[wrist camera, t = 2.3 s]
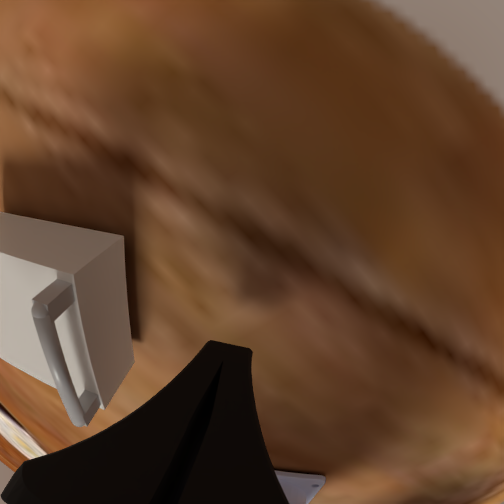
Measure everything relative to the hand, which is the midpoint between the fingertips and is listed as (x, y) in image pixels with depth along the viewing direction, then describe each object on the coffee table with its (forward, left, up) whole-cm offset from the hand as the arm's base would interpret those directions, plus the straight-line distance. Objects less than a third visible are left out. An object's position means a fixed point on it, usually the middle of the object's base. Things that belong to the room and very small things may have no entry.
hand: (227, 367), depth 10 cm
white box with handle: (0, +8, -3) cm, 9 cm away
